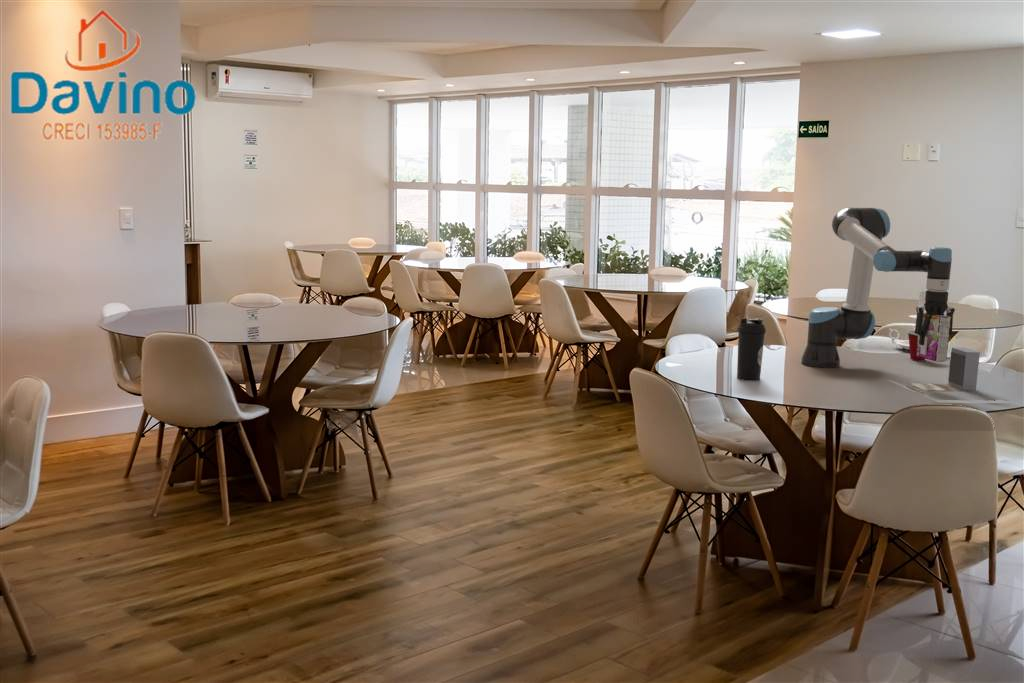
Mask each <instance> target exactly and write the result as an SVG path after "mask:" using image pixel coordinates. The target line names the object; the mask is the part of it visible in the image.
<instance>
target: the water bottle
mask: <svg viewBox="0 0 1024 683" xmlns="http://www.w3.org/2000/svg"><path fill="white" fill-rule="evenodd" d="M763 321H764V318H759V317H758V318H749V319H748V318H747V317H745V316H743V318H742V319H741V320H740V323H739V324H738V325H737V333H738V340H737V341H738V342H737V363H736V364H737V370H736V371H737V372H736V378H737V379H738V380H741V381H746V382H747V381H750V382H753V381H754V382H755V381H756V382H757V381H760V379H761V373H762V363H763V352H764V342H765V340H764V339H765V334H766V332H767V331H766V330H767V328H766V327H765V324H764V323H763Z"/></svg>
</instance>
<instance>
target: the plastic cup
mask: <svg viewBox="0 0 1024 683" xmlns="http://www.w3.org/2000/svg"><path fill="white" fill-rule="evenodd" d="M907 336H908V340H909V349H910V350H909V357H910V360H911V359H913V360H912V361H916V360H924V361H926V359H925V358H921V357H917V356H916V351H917V341H918V334H915V331H914V330H907Z"/></svg>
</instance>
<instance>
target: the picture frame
mask: <svg viewBox="0 0 1024 683" xmlns="http://www.w3.org/2000/svg"><path fill="white" fill-rule="evenodd" d="M907 385H909V386H911V387H909V386H907ZM907 385H906V387H907V388H910V389H911V390H914V391H916V392H918V393H920V394H922V395H923V394H925V393H924V392H980V391H979V390H977V389H976V390H960V389H958V388H955V387H953V386H950V385H948V383H915V382H913V383H907ZM912 387H913V388H912ZM915 388H916V389H915ZM919 390H920V391H919Z"/></svg>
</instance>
